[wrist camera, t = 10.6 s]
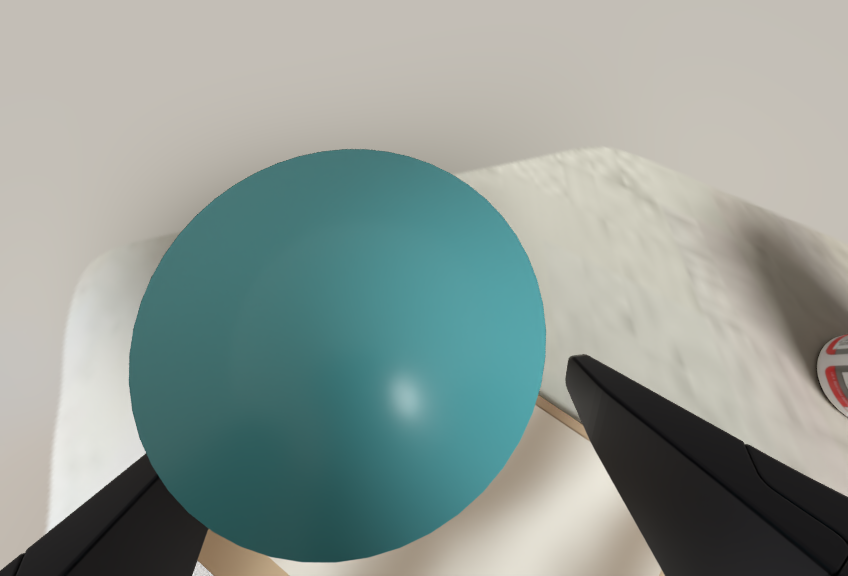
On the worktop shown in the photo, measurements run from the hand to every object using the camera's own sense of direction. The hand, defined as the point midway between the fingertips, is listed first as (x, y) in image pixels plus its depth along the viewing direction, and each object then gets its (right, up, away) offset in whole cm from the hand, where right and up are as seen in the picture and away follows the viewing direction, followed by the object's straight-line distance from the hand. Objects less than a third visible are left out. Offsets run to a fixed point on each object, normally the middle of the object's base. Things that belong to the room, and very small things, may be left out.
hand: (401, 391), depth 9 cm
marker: (0, -2, +7) cm, 7 cm away
